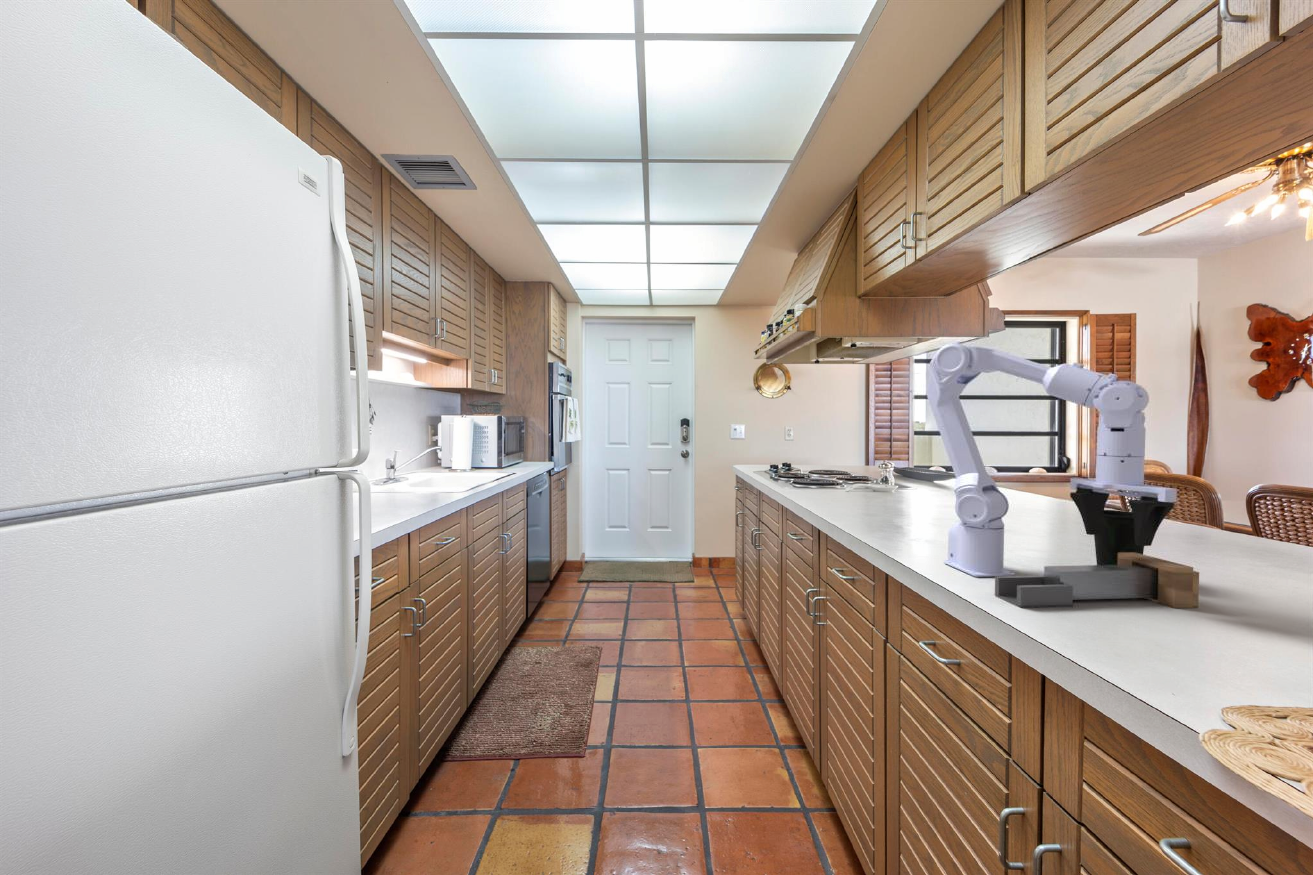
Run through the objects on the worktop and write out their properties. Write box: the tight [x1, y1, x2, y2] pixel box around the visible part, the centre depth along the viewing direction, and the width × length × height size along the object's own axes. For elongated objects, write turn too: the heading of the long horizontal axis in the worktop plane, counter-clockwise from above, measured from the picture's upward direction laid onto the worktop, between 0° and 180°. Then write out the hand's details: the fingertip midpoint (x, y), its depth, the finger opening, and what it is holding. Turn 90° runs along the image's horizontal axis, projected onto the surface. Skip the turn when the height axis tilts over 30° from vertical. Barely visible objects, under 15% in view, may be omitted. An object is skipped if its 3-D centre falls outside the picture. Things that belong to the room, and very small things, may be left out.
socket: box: [1117, 552, 1200, 609], centre depth 82 cm, size 9×4×6 cm, turn 4°
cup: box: [1093, 509, 1145, 565], centre depth 92 cm, size 8×8×12 cm
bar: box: [1043, 564, 1159, 601], centre depth 81 cm, size 3×18×5 cm, turn 94°
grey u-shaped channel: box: [994, 574, 1073, 609], centre depth 81 cm, size 5×8×3 cm, turn 94°
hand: (1117, 539), depth 81 cm, fingers open, 7 cm apart
